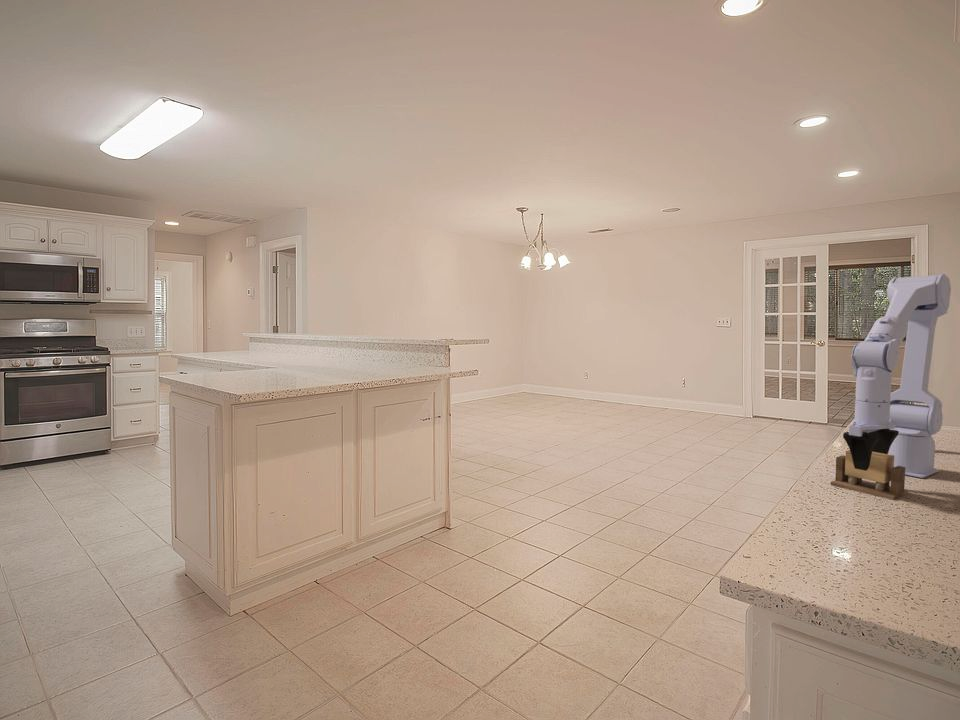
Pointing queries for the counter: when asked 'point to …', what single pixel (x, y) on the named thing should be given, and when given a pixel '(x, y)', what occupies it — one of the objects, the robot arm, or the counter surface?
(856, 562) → the counter surface
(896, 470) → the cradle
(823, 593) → the counter surface
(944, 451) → the counter surface
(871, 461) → the block
